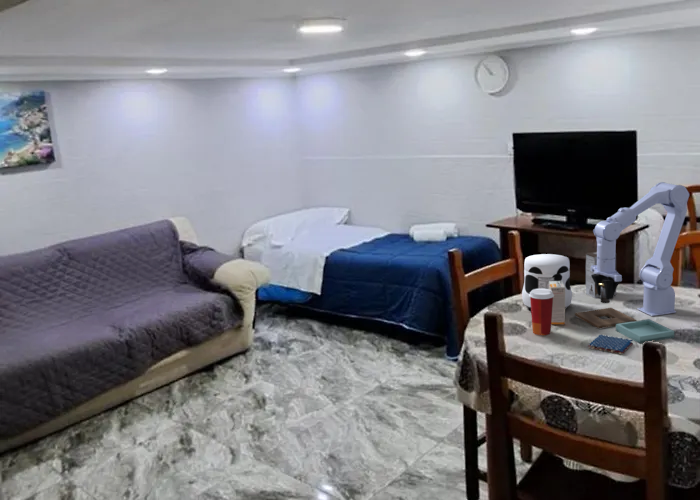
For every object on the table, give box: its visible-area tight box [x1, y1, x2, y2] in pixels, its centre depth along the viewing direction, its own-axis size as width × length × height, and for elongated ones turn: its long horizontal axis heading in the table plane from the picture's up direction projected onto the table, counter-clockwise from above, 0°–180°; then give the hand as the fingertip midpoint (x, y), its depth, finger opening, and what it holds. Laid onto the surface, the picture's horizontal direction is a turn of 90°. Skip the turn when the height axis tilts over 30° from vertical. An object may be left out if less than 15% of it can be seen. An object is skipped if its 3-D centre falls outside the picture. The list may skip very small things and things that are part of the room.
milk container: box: [521, 253, 573, 310], centre depth 234 cm, size 17×17×18 cm
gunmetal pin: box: [599, 281, 611, 304], centre depth 218 cm, size 4×4×7 cm
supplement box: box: [549, 281, 566, 325], centre depth 221 cm, size 8×5×13 cm, turn 168°
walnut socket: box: [574, 307, 637, 330], centre depth 220 cm, size 14×14×1 cm
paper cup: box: [529, 289, 554, 336], centre depth 211 cm, size 8×8×14 cm
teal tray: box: [615, 318, 675, 344], centre depth 205 cm, size 12×12×2 cm
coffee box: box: [585, 251, 618, 299], centre depth 244 cm, size 9×6×16 cm
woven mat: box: [587, 334, 634, 355], centre depth 198 cm, size 10×11×2 cm
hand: (605, 296), depth 218 cm, fingers closed on gunmetal pin, 4 cm apart
